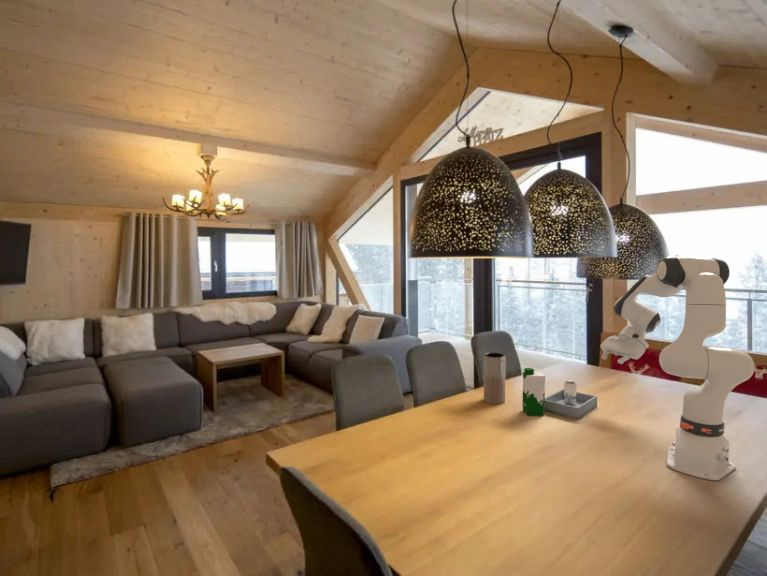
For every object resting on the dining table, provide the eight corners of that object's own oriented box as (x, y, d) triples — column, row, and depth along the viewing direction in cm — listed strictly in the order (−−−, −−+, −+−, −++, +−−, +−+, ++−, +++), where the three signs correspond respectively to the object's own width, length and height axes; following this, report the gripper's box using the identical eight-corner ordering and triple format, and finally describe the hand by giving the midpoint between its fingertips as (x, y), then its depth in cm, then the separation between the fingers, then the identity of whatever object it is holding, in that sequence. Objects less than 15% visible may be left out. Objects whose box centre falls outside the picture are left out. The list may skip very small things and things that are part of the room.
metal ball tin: (573, 409, 194) (573, 382, 193) (561, 406, 197) (562, 380, 196) (578, 406, 197) (578, 380, 196) (566, 403, 201) (567, 378, 200)
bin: (577, 419, 184) (577, 408, 184) (541, 410, 195) (541, 399, 195) (597, 406, 199) (597, 396, 199) (562, 398, 211) (562, 388, 210)
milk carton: (520, 409, 196) (520, 366, 195) (540, 409, 196) (540, 366, 195) (526, 416, 188) (526, 371, 186) (547, 416, 188) (547, 371, 186)
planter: (486, 396, 215) (486, 351, 214) (506, 399, 211) (507, 353, 209) (481, 402, 206) (481, 355, 205) (502, 405, 202) (503, 357, 200)
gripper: (608, 330, 205) (590, 351, 203) (644, 336, 185) (624, 360, 183) (615, 339, 206) (598, 360, 204) (652, 346, 187) (633, 370, 185)
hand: (611, 360), depth 194 cm, fingers open, 8 cm apart
